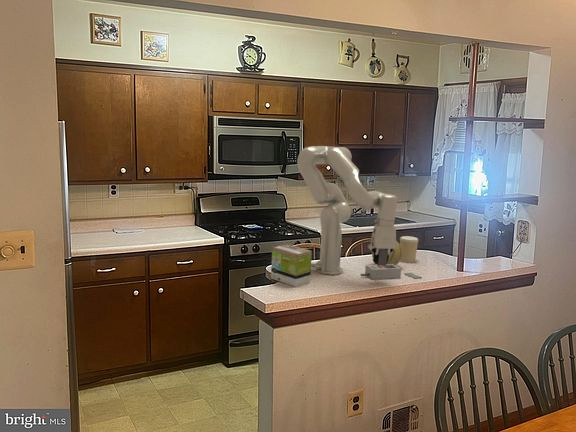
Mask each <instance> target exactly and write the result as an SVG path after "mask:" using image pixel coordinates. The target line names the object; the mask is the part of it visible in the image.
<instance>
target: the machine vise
mask: <svg viewBox="0 0 576 432" xmlns="http://www.w3.org/2000/svg"><path fill="white" fill-rule="evenodd" d="M364 269H365V271H364V273H360V277H368V278H369V279H371V280H373V281H374V280H388V279H389V280H390V279H391V278H393V279H401V277H402V275H401V274H402V268H401V267H399V266H397V265H394V264H386V266H378V265H376V264H365V268H364Z"/></svg>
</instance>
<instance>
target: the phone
mask: <svg viewBox="0 0 576 432" xmlns="http://www.w3.org/2000/svg"><path fill="white" fill-rule="evenodd" d="M403 275H405V276H407V277H409V278H411V277H412V278H411V279H414V280H417V279H422V276H419V275H418V274H415V273H412V272H407V273H403Z"/></svg>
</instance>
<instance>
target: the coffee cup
mask: <svg viewBox="0 0 576 432" xmlns="http://www.w3.org/2000/svg"><path fill="white" fill-rule="evenodd" d="M399 244H400V245H401V247H402V258H401V261H400V262H402V261H403V263H415V262H416V258H417V257H416V256H417V252H418V245H419V238H418V237H415V236H412V235H411V236H410V235H409V236H408V235H405V236H404V235H403V236H401V237H400V238H399Z"/></svg>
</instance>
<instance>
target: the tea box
mask: <svg viewBox="0 0 576 432" xmlns="http://www.w3.org/2000/svg"><path fill="white" fill-rule="evenodd" d="M312 255H313V252H312V250H311V249H310V250H309V249H306V248H303V247H299V246H295V245H291V244H283V245H278V246H274V247H271V268H270V269H271V272H270V273H271V274H270V279H271V280H274V281H277V282H280V283H284V284H286V285H289V286H291V287H294V288H297V287H301V286H303V285H307V284H310V283H311V271H312V267H311V263H312Z"/></svg>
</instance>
